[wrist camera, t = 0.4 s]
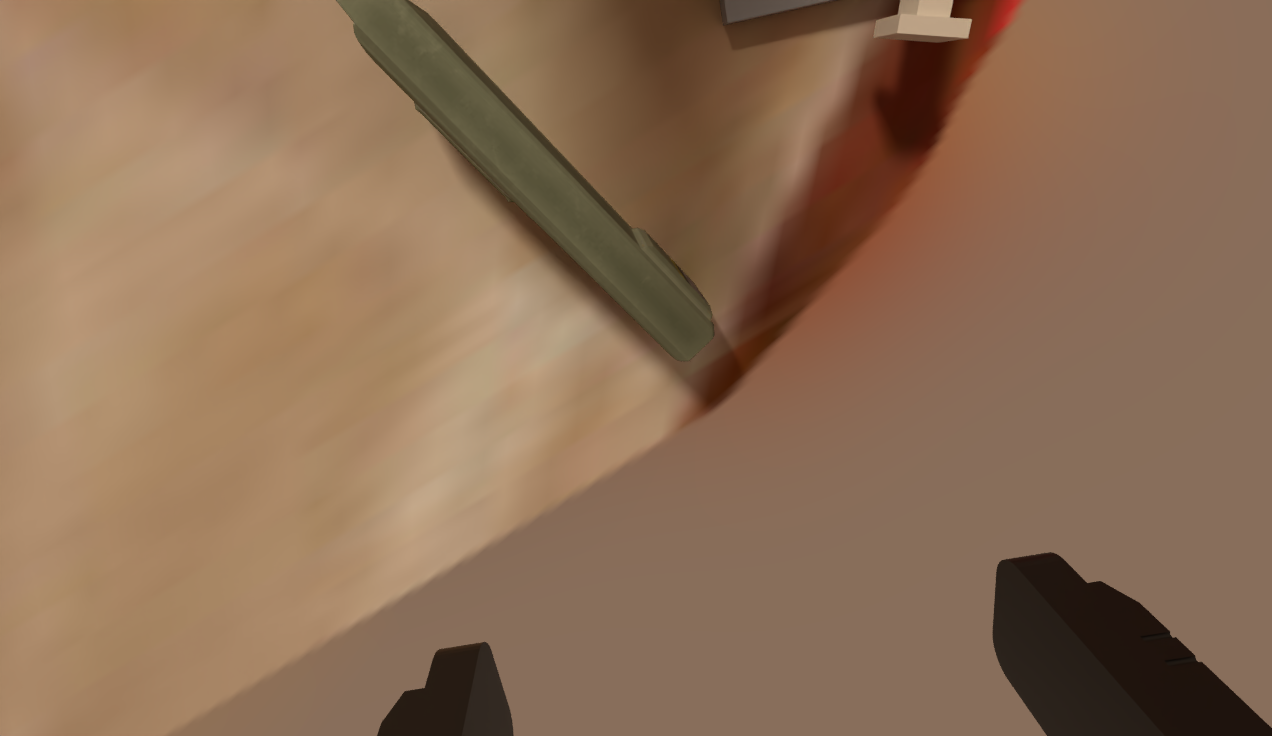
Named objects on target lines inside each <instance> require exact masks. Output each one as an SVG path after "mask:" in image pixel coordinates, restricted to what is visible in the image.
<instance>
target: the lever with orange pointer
mask: <svg viewBox="0 0 1272 736" xmlns="http://www.w3.org/2000/svg"><path fill="white" fill-rule="evenodd" d="M952 4H953V0H900V5H899V11H898V15H894V16H891V17H887V18H883V19H879V20H876V25H875V30H874V36H873V38H882V39H896V40H910V41H923V42H937V43H939V42H946V41H953V40H959V39H966V38H968V35H969V30H970V26H971V21H972V19H962V18H950V14H951V9H952Z"/></svg>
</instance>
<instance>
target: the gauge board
mask: <svg viewBox="0 0 1272 736" xmlns="http://www.w3.org/2000/svg"><path fill="white" fill-rule="evenodd" d="M831 1H835V0H720V7H721V14H722V21H723V25H728V24H732V23H737V22H741V21H746V20H750V19H755V18H759V17H764V16H768V15H773V14H777V13H782V12H786V11H790V10H795V9H799V8H804V7H808V6H813V5H817V4H822V3H826V2H831Z"/></svg>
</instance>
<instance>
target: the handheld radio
mask: <svg viewBox="0 0 1272 736" xmlns="http://www.w3.org/2000/svg"><path fill="white" fill-rule="evenodd" d="M336 1H337V2H338V3H339V5H340V6H341V7H342V8H343V10H344V11H345V12H346V13H347V14H348V16H349V17H350V18H351V19H352V21H353V22H354V24H353V27H354V33H355V36H356V38H357V40H358V41H359V43H360V44H361V46H362V47H363V49H364V50H365V51H366V53H367V54H368V55H369V56H370V57H371V58H372V59H373V61H374V62H375V63H376V64H377V65H378V66H379V67H380V68H381V69H382V70H383V71H384V72H385V73H386V74H387V75H388V76H389V77H390V78H391V79H392V80H393V81H394V82H395V83H396V84H397V85H398V86H399V87H400V88H401V89H402V90H403V91H404V92H405V93H406V94H407V95H408V96H409V97H410V98H411V99H412V100H413V101H414V103H415V109H416V110H417V111H419V112H420V113H421V114H422V115H423V116H424V117H425V118H426V119H427V120H428V121H429V122H430V123H431V124H432V125H433V126H434V127H435V128H436V129H437V130H438V131H439V132H440V133H441V134H442V135H443V136H444V137H445V138H446V139H447V140H448V141H449V142H450V143H451V144H452V145H453V146H454V147H455V148H456V149H457V150H458V151H459V152H460V153H461V154H462V155H463V156H464V157H465V158H466V159H467V160H468V161H469V162H470V163H471V164H472V165H473V166H474V167H475V168H476V169H477V170H478V171H479V172H480V173H481V174H482V175H483V176H484V177H485V178H486V179H487V180H488V181H489V182H490V183H491V184H492V185H493V186H494V187H495V188H496V189H497V190H498V191H499V192H500V193H501V194H502V195H503V196H504V197H505V198H506V199H507V200H508V202H515V203H516V204H517V205H518V206H519V207H520V208H521V209H522V210H523V211H524V212H525V213H526V214H527V215H528V216H529V217H530V218H531V219H533V220H534V221H535V222H536V223H537V224H538V225H539V226H540V227H541V228H542V229H543V230H544V231H545V232H546V233H547V234H548V235H549V236H550V237H551V238H552V239H553V240H554V241H555V242H556V243H557V244H558V245H559V246H560V247H561V248H562V249H563V250H564V251H565V252H566V253H567V254H568V255H569V256H570V257H571V258H572V259H573V260H575V261H576V262H577V263H578V264H579V265H580V266H581V267H582V268H583V269H584V270H585V271H586V272H587V273H588V274H589V275H590V276H591V277H592V278H593V279H594V280H595V281H596V282H597V283H598V284H599V285H600V286H601V287H602V288H603V289H604V290H605V291H606V292H607V293H608V294H609V295H610V296H611V297H612V298H613V299H614V300H615V301H616V302H617V303H618V304H619V305H620V306H621V307H622V308H623V309H624V310H625V311H626V312H627V313H628V314H629V315H630V316H631V317H632V318H633V319H634V320H635V321H636V322H637V323H638V324H639V325H640V326H641V327H642V328H643V329H644V330H645V331H646V332H648V333H649V334H650V335H651V336H652V337H653V338H654V339H655V340H656V341H657V342H658V343H659V344H660V345H661V346H662V347H663V348H664V349H665V350H666V351H667V352H668V353H669V354H670V355H671V356H672V357H673V358H675V359H676V360H679V361H690V360H691V359H692V358H693V357H694V356H695V355H696V354H697V353H698V352H699V351H700V350H701V349H702V348H703V347H704V346H705V345H706V344H707V343H709V342H710V341H711V340H712V339H713V337H714V324H713V323H712V321H711V318H712V312H711V308H710V305H709V304H708V303H707V301H706V300H705V298H704V297H703V295H702V294H701V292H700V291H699V290H698V288H697V287H696V285H695V284H694V283H693V282H692V280H691V279H690V278H689V277H688V276H687V275H686V274H685V273H684V272H683V271H682V270H681V269H680V268H679V267H678V266H677V265H676V263H675V262H674V261H673V260H672V259H671V258H670V257H669V256H668V255H667V254H666V253H665V252H664V251H663V250H662V249H661V247H660V246H659V245H658V244H657V243H656V242H655V241H654V240H653V239H652V238H651V237H650V236H649V235H648V234H647V233H646V232H645V230H642V229H639V228H634V229H632V228H631V227H630V226H629V225H628V224H627V223H626V222H625V221H624V220H623V219H622V217H621V216H620V215H619V214H618V213H617V212H616V211H615V210H614V209H613V208H612V207H611V206H610V205H609V204H608V203H607V202H606V201H605V200H604V198H603V197H602V196H601V195H600V194H599V193H598V192H597V191H596V190H595V189H594V188H593V187H592V186H591V185H590V184H589V183H588V182H587V180H586V179H585V178H584V177H583V176H582V175H581V174H580V173H579V172H578V171H577V170H576V169H575V168H574V167H573V166H572V165H571V164H570V163H569V161H568V160H567V159H566V158H565V157H564V156H563V155H562V154H561V153H560V152H559V151H558V150H557V149H556V148H555V147H554V146H553V145H552V144H551V142H550V141H549V140H548V139H547V138H546V137H545V136H544V135H543V134H542V133H541V132H540V131H539V130H538V129H537V128H536V127H535V126H534V124H533V123H532V122H531V121H530V120H529V119H528V118H527V117H526V116H525V115H524V114H523V113H522V112H521V111H520V110H519V109H518V108H517V107H516V105H515V104H514V103H513V102H512V101H511V100H510V99H509V98H508V97H507V96H506V95H505V94H504V93H503V92H502V91H501V90H500V89H499V88H498V86H497V85H496V84H495V83H494V82H493V81H492V80H491V79H490V78H489V77H488V76H487V75H486V74H485V73H484V72H483V71H482V70H481V68H480V67H479V66H478V65H477V64H476V63H475V62H474V61H473V60H472V59H471V58H470V57H469V56H468V55H467V54H466V53H465V52H464V51H463V49H462V48H461V47H460V46H459V45H458V44H457V43H456V42H455V41H454V40H453V39H452V38H451V37H450V36H449V35H448V34H447V33H446V32H445V30H444V29H443V28H442V27H441V26H440V25H439V24H438V23H437V22H436V21H435V20H434V19H433V18H432V17H431V16H430V15H429V14H428V13H427V12H425V11H424V10H422V9H421V8H419V7H418V6H416V5H415V4H413V3H412V2H410V1H409V0H336Z"/></svg>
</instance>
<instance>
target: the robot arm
mask: <svg viewBox="0 0 1272 736" xmlns="http://www.w3.org/2000/svg"><path fill="white" fill-rule="evenodd" d="M993 643H994V648H995V652H996V655H997V658H998V661H999V663H1000V666H1001V668H1002V670H1003V672H1004V674H1005V676H1006V677H1007V679H1008V680H1009V682H1010V683H1011V684H1012V686H1013V687H1014V689H1015V690H1016V692H1017V693H1018V694H1019V696H1020V697H1021V699H1022V700H1023V702H1024V703H1025V704H1026V706H1027V708H1028V709H1029V710H1030V712H1031V713H1032V715H1033V716H1034V718H1035V719H1036V720H1037V722H1038V723H1039V724H1040V726H1041V727H1042V729H1043V731H1044V732H1045V733H1046V735H1047V736H1272V728H1271V727H1270V726H1269V725H1268V724H1267V723H1265V722H1264V721H1263V720H1262V719H1261V718H1260V717H1259V716H1258V715H1257V714H1256V713H1255V712H1254V711H1253V710H1252V709H1251V708H1250V707H1249V706H1248V705H1247V704H1246V703H1245V702H1244V701H1242V700H1241V699H1240V698H1239V697H1238V696H1237V695H1236V694H1235V693H1234V692H1233V691H1232V690H1231V689H1230V688H1229V687H1228V686H1227V685H1226V684H1224V683H1223V682H1222V681H1221V680H1220V679H1219V678H1218V677H1217V676H1216V675H1215V674H1214V673H1213V672H1212V671H1211V670H1210V669H1209V668H1208V667H1207V666H1206V665H1204V664H1203V663H1202V662H1198V661H1196V658H1195V655H1194V654H1193V653H1192V652H1191V651H1190V650H1189V649H1188V648H1187V647H1186V646H1184V645H1183V644H1182V643H1181V642H1180V641H1179V640H1178V639H1177V638H1176V637H1175V638H1172V637H1171V635H1170V631H1169V630H1168V629H1167V628H1166V627H1164V626H1163V625H1162V624H1161V623H1160V622H1159V621H1158V620H1157V619H1156V618H1155V617H1154V616H1153V615H1152V614H1151V613H1150V612H1149V611H1148V610H1146V609H1145V608H1144V607H1143V606H1142V605H1141V604H1140V603H1139V602H1137V601H1135V600H1133V599H1132V598H1130V597H1128V596H1126V595H1124V594H1123V593H1121V592H1119V591H1117V590H1116V589H1114V588H1112V587H1110V586H1108V585H1106V584H1105V583H1103V582H1101V581H1098V582H1092V583H1086V582H1085V581H1084V580H1083V579H1082V577H1080V575H1079V574H1077V572H1076V571H1074V569H1073V568H1072V567H1071V566H1070V565H1069V564H1068V563H1067V562H1066V561H1065V560H1064V559H1063V558H1061V557H1060V556H1059V555H1057V554H1055V553H1051V552H1050V553H1043V554H1037V555H1031V556H1024V557H1019V558H1012V559H1006V560H1002V561H1001V562H999V564H998V567H997V572H996V588H995V604H994V620H993ZM377 736H513V726H512V718H511V713H510V709H509V706H508V702H507V699H506V696H505V693H504V690H503V687H502V683H501V680H500V677H499V674H498V670H497V667H496V664H495V661H494V658H493V654H492V651H491V649H490V646H489V645H488V643H486V642H482V643H476V644H469V645H463V646H457V647H451V648H445V649H439V650H438V651H437V652H436V653H435V655H434V658H433V661H432V664H431V668H430V671H429V675H428V678H427V682H426V686H425V688H422V689H416V690H410V691H405V692H404V693H403V694H402V696H401V697H400V699H399V700H398V701H397V703H396V704H395V705H394V707H393V708H392V709H391V711H390V712H389V713H388V715H387V716H386V718H385V719H384V720H383V722H382V723H381V726H380V729H379V732H378V735H377Z"/></svg>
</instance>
